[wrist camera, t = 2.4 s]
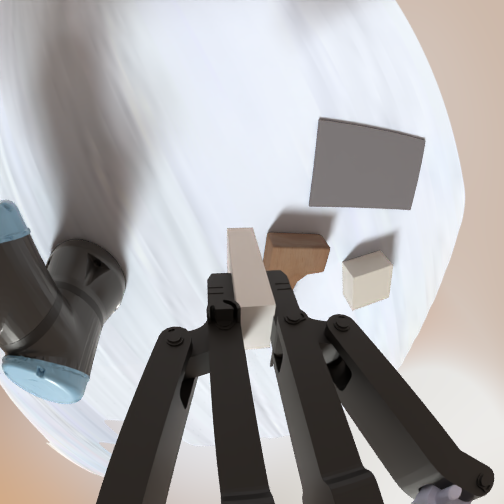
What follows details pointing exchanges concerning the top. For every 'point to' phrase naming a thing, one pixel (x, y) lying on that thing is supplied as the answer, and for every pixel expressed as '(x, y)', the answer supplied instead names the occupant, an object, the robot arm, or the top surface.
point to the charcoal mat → (364, 167)
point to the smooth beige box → (366, 279)
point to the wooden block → (295, 254)
